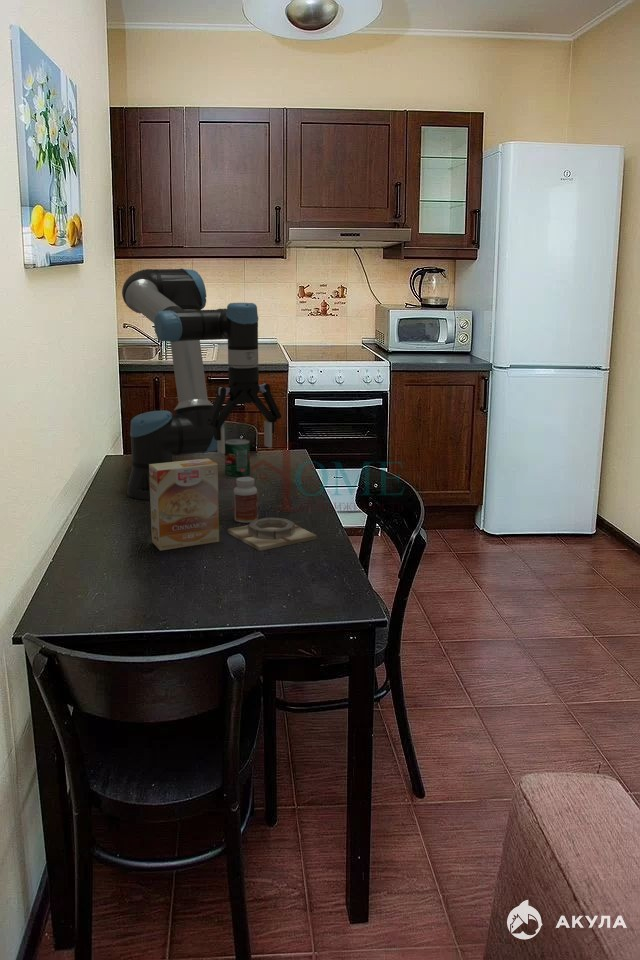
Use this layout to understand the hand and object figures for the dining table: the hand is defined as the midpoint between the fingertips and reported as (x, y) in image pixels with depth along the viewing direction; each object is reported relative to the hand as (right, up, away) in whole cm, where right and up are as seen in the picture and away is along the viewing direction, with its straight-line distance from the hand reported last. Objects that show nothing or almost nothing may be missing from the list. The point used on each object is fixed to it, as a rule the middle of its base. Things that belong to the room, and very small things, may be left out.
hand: (245, 449), depth 216 cm
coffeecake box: (-13, -23, -13) cm, 29 cm away
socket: (+7, -22, -8) cm, 24 cm away
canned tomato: (-7, -7, +50) cm, 50 cm away
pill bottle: (0, -18, +5) cm, 19 cm away
